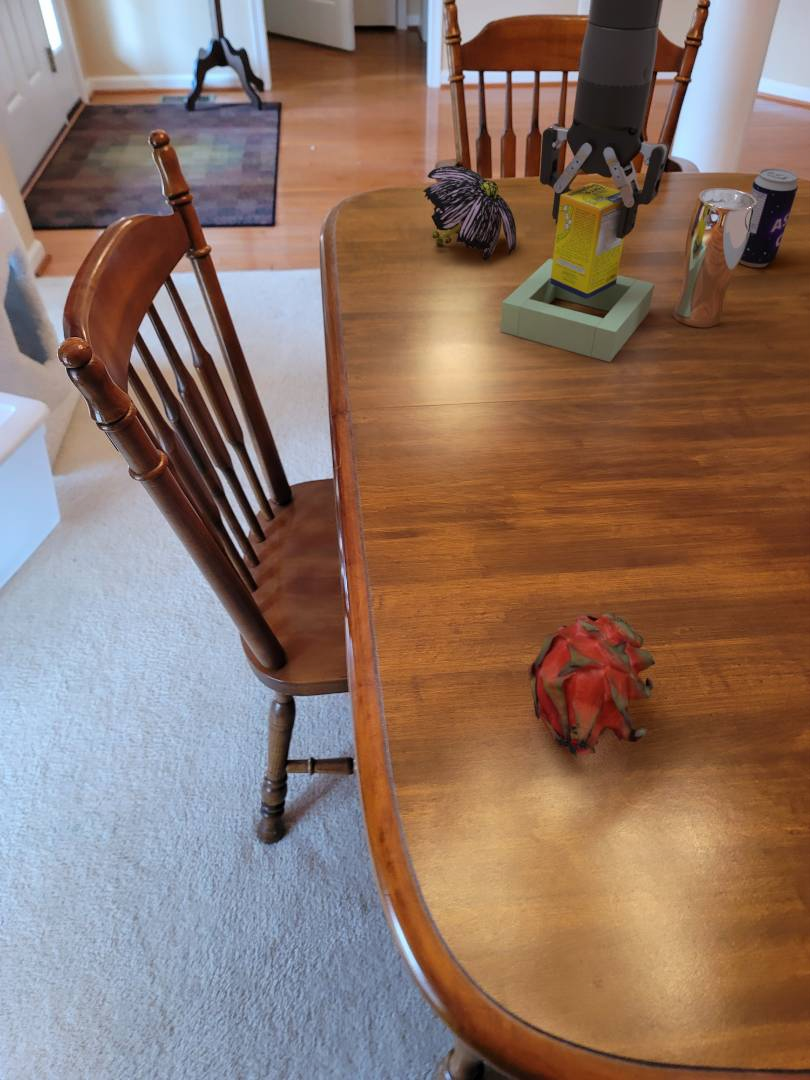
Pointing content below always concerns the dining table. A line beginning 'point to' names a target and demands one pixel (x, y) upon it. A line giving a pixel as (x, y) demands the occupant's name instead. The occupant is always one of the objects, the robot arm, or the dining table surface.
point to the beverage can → (769, 215)
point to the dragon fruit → (590, 681)
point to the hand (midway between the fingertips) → (591, 229)
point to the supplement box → (587, 240)
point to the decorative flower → (469, 210)
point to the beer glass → (713, 253)
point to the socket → (576, 314)
